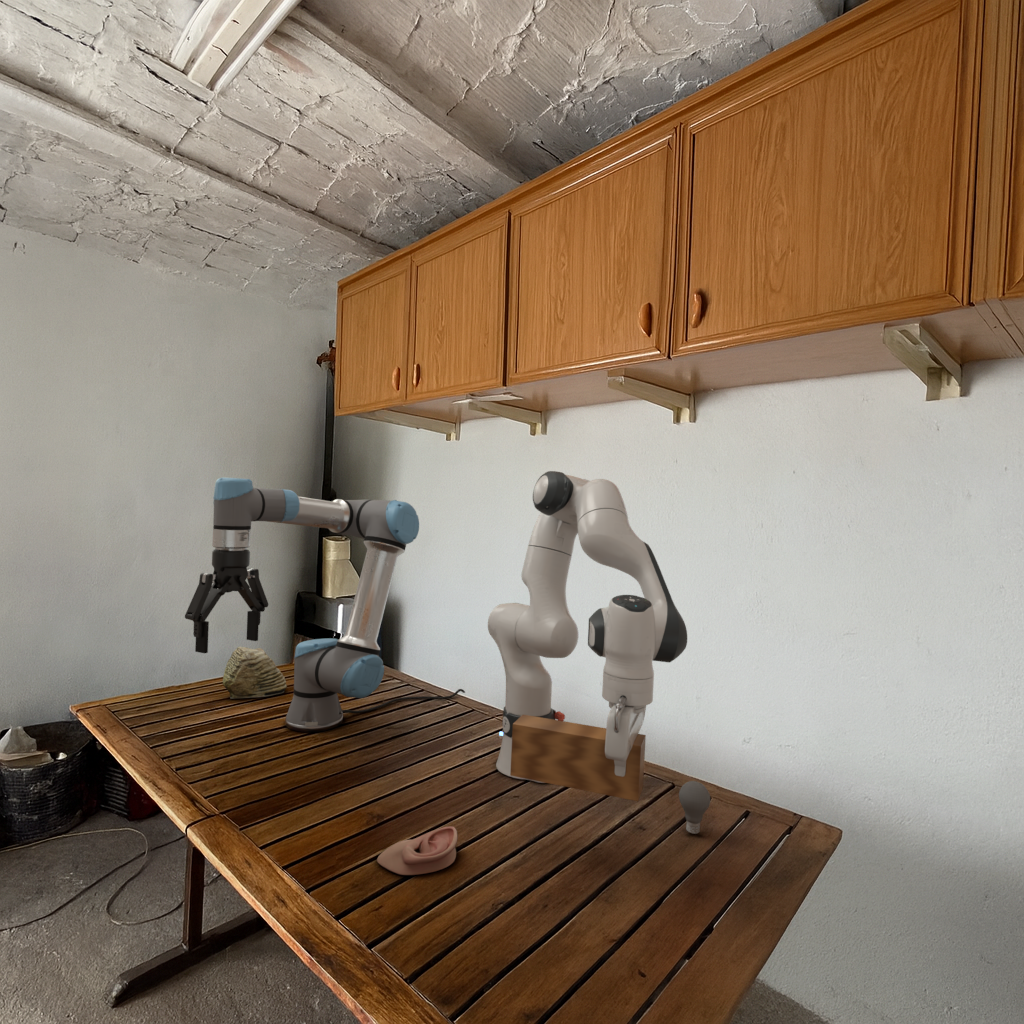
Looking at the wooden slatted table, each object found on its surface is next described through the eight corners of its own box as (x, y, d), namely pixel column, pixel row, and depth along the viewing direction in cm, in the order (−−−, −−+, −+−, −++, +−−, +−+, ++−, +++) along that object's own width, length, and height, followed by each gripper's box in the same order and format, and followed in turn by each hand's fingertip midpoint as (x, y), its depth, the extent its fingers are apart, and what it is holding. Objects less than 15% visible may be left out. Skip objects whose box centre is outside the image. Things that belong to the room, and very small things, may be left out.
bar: (510, 775, 116) (512, 723, 116) (520, 763, 122) (522, 714, 121) (638, 801, 108) (641, 746, 108) (643, 787, 114) (645, 734, 114)
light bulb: (673, 824, 128) (675, 775, 128) (701, 824, 129) (704, 775, 129) (683, 840, 122) (685, 789, 122) (713, 840, 123) (716, 789, 123)
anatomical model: (370, 846, 108) (395, 814, 119) (369, 869, 108) (395, 835, 119) (444, 859, 105) (463, 825, 117) (443, 882, 106) (462, 846, 117)
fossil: (218, 695, 195) (220, 647, 195) (278, 685, 208) (279, 640, 207) (228, 703, 189) (230, 653, 188) (289, 692, 201) (290, 645, 201)
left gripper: (194, 553, 125) (190, 660, 125) (286, 547, 148) (283, 637, 148) (167, 550, 128) (164, 655, 128) (262, 544, 151) (258, 633, 151)
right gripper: (636, 709, 101) (632, 795, 101) (653, 677, 120) (649, 749, 120) (597, 703, 103) (593, 787, 103) (619, 672, 122) (616, 743, 123)
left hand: (227, 646), depth 138 cm, fingers open, 13 cm apart
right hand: (623, 766), depth 112 cm, fingers closed on bar, 6 cm apart
